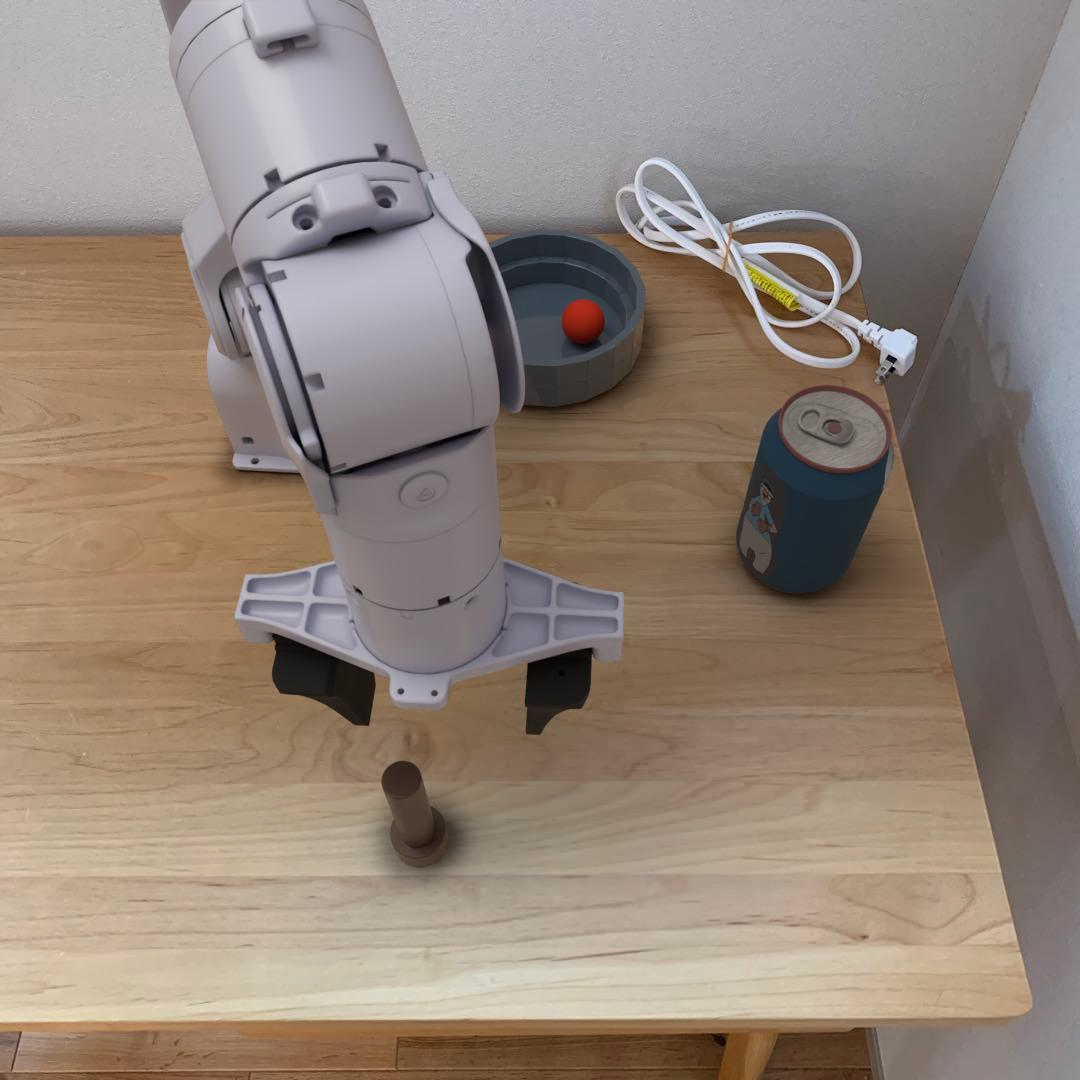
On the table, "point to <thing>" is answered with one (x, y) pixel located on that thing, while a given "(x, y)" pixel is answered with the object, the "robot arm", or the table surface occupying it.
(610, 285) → the bowl
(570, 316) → the red ball
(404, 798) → the muddler
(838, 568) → the soda can
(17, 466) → the table surface
